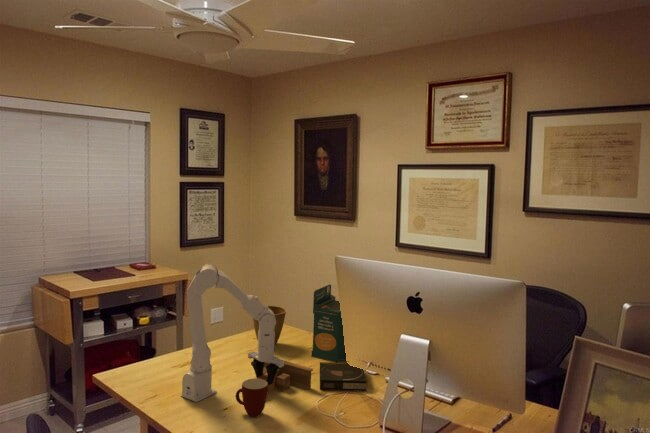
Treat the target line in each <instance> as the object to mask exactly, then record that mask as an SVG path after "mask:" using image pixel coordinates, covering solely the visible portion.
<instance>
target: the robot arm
mask: <svg viewBox="0 0 650 433" xmlns="http://www.w3.org/2000/svg"><path fill="white" fill-rule="evenodd" d="M214 286H215V289H224V290H226V291H227V292H228V293H229V294H231V295H232V296H233V297H234V298H235V299H237V300H238V301H239V302H240V304H241V309H242V310H243V311H245V313H247V314H248V315H249V316H250V317H251V318H252V319H253V318H254V319H255V320H258V321H259V331H258V340H257V351H249V352H247V359H249V360H250V359H253V360H252V361H250V365H251V366H252V368H253V370H254V374H255V377H256V378H258V377H260V376H262V375H263V368H264V363H265V362H266V363H269V364H270V365H268V366H266V370H267V375H268V385H271V384H273V381H274V378H275V375H276V372H277V370H278V368H279V367H280V368H281V367H283V366H284V360H285V359H281V358H279V357H278V356H276V355H275V347H274V341H275V331H274V329H275V325H276V319H275V315H274V313H273V311H272V310H271V309H270V308H269V307H268V306H269V305H265V304H263V303H262V302H261V301H260V298H259V296H257V295H253V294H247V293H246V292H244V290H243V289H242V288H241V287H239V286H238V284H236V283H235V281H233V280H232V279H231V277H229V276H228V275H227V274H226V273H225V272H223V270H221V269H218V267H217V266H216V265H214V264H211V263H206V264H204V265H202V266H201V267H200V268H199V269H198V270H197V271H196V273H195V275H194V277H192V280H191V282H190V283H189V286H188V287H187V290H186V299H187V300H186V301H187V307H188V308H187V309H188V317H189V327H190V334H191V343H192V345H191V346H192V348H191V349H192V350H191V351H192V355H191V360H190V366H189V370H188V371H187V372H186V373H185V374H184V375H183V376H182V384H181V385H182V386H181V388H182V391H181V394H180V397H183V398H185V399H188V400H190V401H193V402H195V403H198V402H200V401H202V400H204V399H206V398H208V397H210V396H212V395H213V394H216V393H217V392H218V390H217V389H215V388H214V389H213V388H212V381H213V380H212V375H213V374H212V373H213V372H212V371H213V370H212V369H213V368H212V367H213V366H212V364H211V354H212V350H211V348H210V347H209V346H208V341H207V334H206V326H205V319H204V317H205V316H204V308H203V307H204V306H203V299H202V296H203V294H205V292H206V291H207V290H208V289H209V290H210V289H211V288H213V287H214ZM256 378H255V379H256Z"/></svg>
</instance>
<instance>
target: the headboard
mask: <svg viewBox="0 0 650 433" xmlns="http://www.w3.org/2000/svg"><path fill="white" fill-rule="evenodd" d="M283 360H284V366H283V367H281V368H280V367H279V368H278V369H279V370H280V375H279V376H277V385H276V388H275V389H276V390H278V391H281V392H285V391H286V390H288V389H290V387H291V386H294V387H297V388H301V389H303V390H306V391H308V390H310V389H311V387H312V386H311V384H312V372H313V371H314V367H313V368H312V367H308V366H305V365H302V364H299V363H295V362H292V361H289V360H288V361H287V360H285V359H283ZM268 365H270V364H269V363H266V362H265V363H264V368H263V374H265V373H267V370H266V366H268Z"/></svg>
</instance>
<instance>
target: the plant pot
mask: <svg viewBox="0 0 650 433" xmlns="http://www.w3.org/2000/svg"><path fill="white" fill-rule="evenodd" d="M267 306H268V307H269V308H270V309H271V310H272V311H273V313H274V315H275V319H276V325H275V329H274V331H275V341H274V348H275V347H276V346H277V344H278V342H279V339H280V336H281V335H282V334H281V333H282V331H283V327H284V325H285V324H284V323H285V319H286V314H287V309H285V307H281V306H276V305H267ZM252 322H253V323H252V324H253V328H254V332H255V336H256V339H257V341H258V331H259V321H258V320H255V319H254V318H253V317H252Z"/></svg>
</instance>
